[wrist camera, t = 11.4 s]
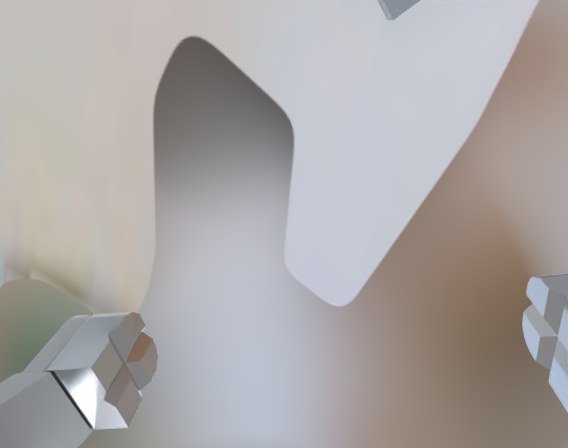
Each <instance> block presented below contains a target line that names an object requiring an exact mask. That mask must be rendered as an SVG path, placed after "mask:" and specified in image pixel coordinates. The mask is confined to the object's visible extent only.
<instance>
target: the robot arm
mask: <svg viewBox="0 0 568 448" xmlns="http://www.w3.org/2000/svg"><path fill="white" fill-rule="evenodd" d="M526 294H527V296H528V297H529V299H530V300H531V301H532V305H530V306H529V307H528V308H527V309H526V310H525V311H524V313H523V324H522V326H523V332H524V337H525V341H526V343H527V346H528V348H529V351H530V352H531V354H532V355H533V357H534V359H535V361H536V362H538V363H539V364H541V365H543V366H544V367H546V368H548V369H549V370H551V372H550V377H549V383H550V385H551V387H552V388H553V390H554V391H555V393H556V394H557V396H558V398H559V399H560V401H561V403H562V404H563V406H564V407H565V409H566V410H567V412H568V274H558V275H547V276H536V277H532V278H531V279H530V281H529V282H528V286H527V292H526ZM144 327H145V323H144V321H143V319H142V318H141V316H140V314H138V313H135V312H123V313H107V314H94V315H81V316H75V317H73V318H70V319H68V320H67V321H66V322H65V323H64V325H63V326H62V327H61V328H60V329H59V330H58V332H57V333H56V334H55V335H54V336H53V337H52V339H51V340H50V341H49V342H48V343H47V344H46V345H45V347H44V348H43V349H42V350H41V351H40V352H39V354H38V355H37V356H36V357H35V358H34V359H33V361H32V362H31V363H30V364H29V365H28V366H27V368H26V369H25V370H24V371H23V372H22V373H19V374H14V375H12V376H11V377H9V378H8V379H6V380H5V381H3V382H1V383H0V448H77V447H78V446H79V445H80V444H81V443H82V442H83V441H84V440H85V439H86V438H87V437H88V436H89V435H90V434H91V433H92V430H96V429H113V428H128V427H129V426H130V423H131V421H132V419H133V417H134V415H135V413H136V411H137V409H138V407H139V405H140V403H141V401H142V395H141V391H140V390H141V389H142V388H143V387H145V386H146V385H147V384H148V383H149V382H150V381H151V380H152V378H153V376H154V373H155V371H156V367H157V359H158V355H157V349H156V345H155V343H154V341H153V339H152V338H150V337H149V336H148V335H146V334H145V333H143V330H144Z"/></svg>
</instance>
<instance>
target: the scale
mask: <svg viewBox="0 0 568 448" xmlns="http://www.w3.org/2000/svg"><path fill="white" fill-rule="evenodd" d="M418 1H420V0H378V2H379V4H380V6H381V8H382V10H383V12H384V14H385V15H386V17H387V19H388V20H394V19H395V18H397V17H398V16H399V15H401V14H402V13H403V12H405V11H406V10H408V9H409V8H410V7H412V6H413V5H414V4H416V3H417V2H418Z"/></svg>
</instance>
